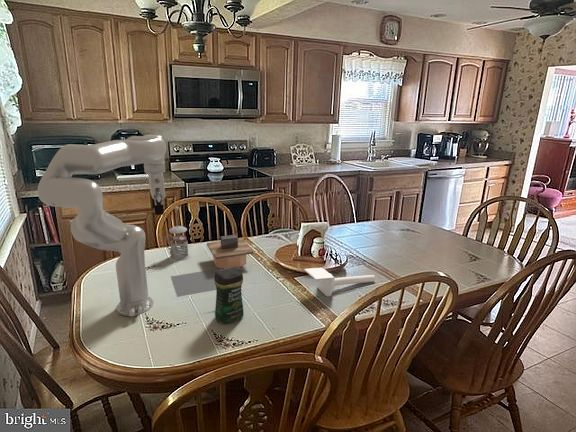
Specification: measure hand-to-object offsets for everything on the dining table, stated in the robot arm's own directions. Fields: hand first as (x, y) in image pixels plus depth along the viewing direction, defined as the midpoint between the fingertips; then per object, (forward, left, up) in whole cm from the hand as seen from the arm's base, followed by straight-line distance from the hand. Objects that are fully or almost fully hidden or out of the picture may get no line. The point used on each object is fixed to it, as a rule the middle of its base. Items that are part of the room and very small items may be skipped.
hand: (158, 211), depth 150 cm
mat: (-8, -12, -30) cm, 33 cm away
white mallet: (-33, -66, -31) cm, 80 cm away
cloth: (+6, -30, -23) cm, 38 cm away
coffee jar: (-37, -18, -30) cm, 51 cm away
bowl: (+6, -30, -30) cm, 43 cm away
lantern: (+21, -9, -30) cm, 38 cm away
